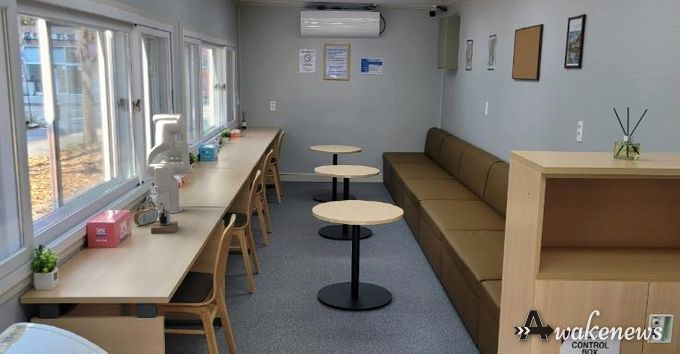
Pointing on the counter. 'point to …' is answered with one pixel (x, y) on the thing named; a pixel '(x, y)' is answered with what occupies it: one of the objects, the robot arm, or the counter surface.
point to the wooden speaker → (146, 216)
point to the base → (164, 228)
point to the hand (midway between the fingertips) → (164, 221)
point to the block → (166, 217)
